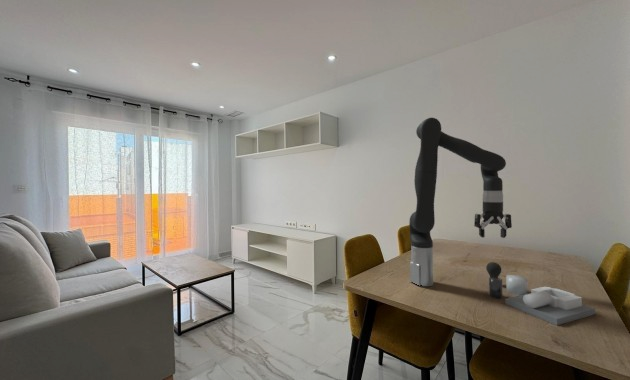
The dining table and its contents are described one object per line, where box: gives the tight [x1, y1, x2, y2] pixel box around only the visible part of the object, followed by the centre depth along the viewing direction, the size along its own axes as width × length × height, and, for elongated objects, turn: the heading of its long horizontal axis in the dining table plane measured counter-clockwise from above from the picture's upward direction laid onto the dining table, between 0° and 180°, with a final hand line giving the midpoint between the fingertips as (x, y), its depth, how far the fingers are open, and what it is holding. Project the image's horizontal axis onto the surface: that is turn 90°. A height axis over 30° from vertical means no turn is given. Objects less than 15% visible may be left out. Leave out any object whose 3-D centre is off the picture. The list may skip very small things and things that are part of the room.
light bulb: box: [485, 261, 502, 278], centre depth 115 cm, size 6×6×10 cm
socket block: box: [505, 285, 596, 326], centre depth 92 cm, size 20×16×6 cm
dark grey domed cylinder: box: [488, 276, 503, 300], centre depth 103 cm, size 4×4×7 cm
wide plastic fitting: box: [505, 274, 528, 296], centre depth 107 cm, size 7×7×6 cm
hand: (492, 237), depth 114 cm, fingers open, 8 cm apart
